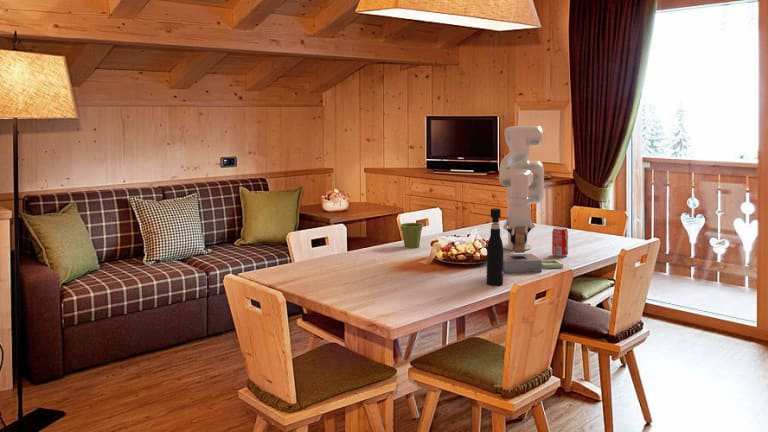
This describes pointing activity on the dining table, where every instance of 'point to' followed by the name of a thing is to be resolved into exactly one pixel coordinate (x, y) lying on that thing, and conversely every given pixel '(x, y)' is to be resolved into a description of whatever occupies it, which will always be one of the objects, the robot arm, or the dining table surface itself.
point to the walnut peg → (519, 239)
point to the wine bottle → (495, 252)
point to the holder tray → (551, 264)
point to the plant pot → (411, 234)
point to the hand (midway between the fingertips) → (518, 242)
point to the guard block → (521, 263)
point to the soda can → (560, 241)
